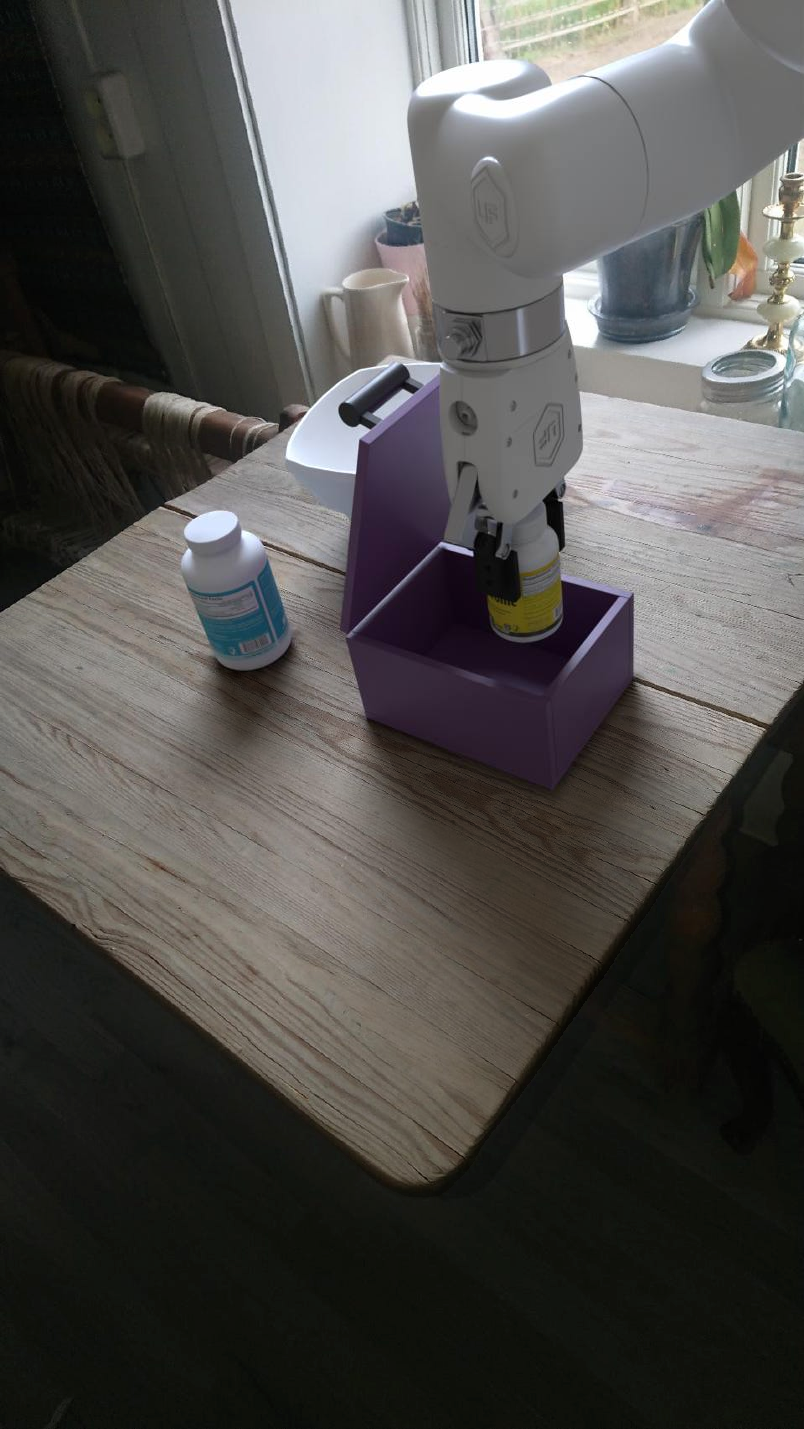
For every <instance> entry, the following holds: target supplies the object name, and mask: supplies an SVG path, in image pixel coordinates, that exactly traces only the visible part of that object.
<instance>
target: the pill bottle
mask: <svg viewBox="0 0 804 1429" xmlns="http://www.w3.org/2000/svg"><path fill="white" fill-rule="evenodd" d="M183 537H184V539H185V542H186V545H187V549H186V551H185V552H184V554H183V556H182V558H181V563H180V573H181V576H182V578H183V581H184V583H185V586H186V588H187V591H188V593H189V595H190V596H189V597H190V598H191V601H192V603H193V606H194V608H195V610H196V613H197V615H198V618H199V620H200V623H201V625H202V627H203V630H204V633H205V635H206V638H207V640H208V642H209V645H210V647H211V649H212V652H213V654H214V657H215V658H216V660H217V662H219V663H220V664H221V665H222V666H224V667H226V668H228V669H231V670H234V671H252V670H256V669H260V668H264V667H266V666H268V665H271V664H272V663H274V662H276V661H277V660H279V658H280V657H282V656H283V655H284V654H285V652H286V651H287V650H288V648H289V646H290V644H291V641H292V629H291V625H290V622H289V618H288V616H287V612H286V610H285V607H284V604H283V600H282V598H281V595H280V591H279V589H278V586H277V583H276V579H275V576H274V574H273V573H274V572H273V570H272V567H271V564H270V561H269V558H268V555H267V552H266V549H265V546H264V544H263V542H262V541H261V540H260V539H259V538H258V537H257V536H256V535H254V534H253V533H251V532H250V531H246V530H244V529H243V528H242V526H241V524H240V521H239V518H238V517H237V515H236V514H235V513H233V512H231V511H228V510H213V511H209V512H205V513H203V514H200V515H197V517H194V518H193V519H192V520H190V521H189V522H188V523H187V524H186V526H185V528H184V530H183Z"/></svg>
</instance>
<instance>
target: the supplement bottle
mask: <svg viewBox="0 0 804 1429" xmlns="http://www.w3.org/2000/svg"><path fill="white" fill-rule="evenodd" d="M486 519H487V521H486V523H487V529H488V532H487V533H488V534H490V535H492V536H495V537H496V530H497V521H495V520H492V519H488V518H486ZM511 550H514V551H517V554H518V564H519V575H520V586H521V598H520V599H519V600H518V601H517V602H515V603H514V602H510V601H506V600H503V599H500V598H496V597H493V596H489V595H487V601H488V609H489V617H490V622H491V626H492V628H493V630H494V631H495V632H496V633H497V634H498V635H499V636H501V637H502V638H504V639H507V640H509V641H513V642H520V643H526V642H533V641H538V640H541V639H543V638H546V637H548V636H549V635H551V634H552V633H554V632H555V631H556V630H557V629H558V627H559V626H560V624H561V622H562V619H563V602H562V588H561V558H560V552H559V544H558V538H557V535H556V533H555V531H554V530H553V529H552V528H551V527H550V526H549V525H547V517H546V507H545V504H544V503H543V501H541V502H540V503H539V504H538V505H537V506H536V507H535V508H534V509H533V510H532V511H531V512H530V513H529V514H528V515H527V516H526V517H525V518H523V519H522V520H521V521H519V522H517V523H516V524H513V530H512V541H511Z"/></svg>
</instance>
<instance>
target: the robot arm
mask: <svg viewBox="0 0 804 1429" xmlns="http://www.w3.org/2000/svg"><path fill="white" fill-rule="evenodd" d="M406 124H407V136H408V142H409V149H410V155H411V156H410V157H411V163H412V164H411V165H412V169H413V170H412V171H413V176H414V184H415V191H416V199H417V205H418V211H419V219H420V220H419V221H420V226H421V234H422V241H423V249H424V255H425V256H424V257H425V262H426V270H427V277H428V284H429V291H430V292H429V293H430V300H431V306H432V314H433V320H434V328H435V336H436V342H437V343H436V345H437V352H438V355H439V357H440V359H441V360H442V361H441V362H440V363H441V364H440V384H439V385H440V426H441V442H442V453H443V462H444V470H445V478H446V484H447V489H448V494H449V498H450V501H451V504H452V507H451V511H450V515H449V519H448V522H447V526H446V530H445V534H444V539H445V541H446V542H445V543H448V544H452V545H455V546H459V547H463V548H467V550H469V551H473V556H474V564H475V571H476V579H477V586H478V590H479V591H480V592H481V593H483V594H486V595H489V596H493V597H496V598H500V599H503V600H506V601H510V602H514V603H515V602H517V601H518V600H519V599H520V598H521V586H520V575H519V564H518V554H517V551H514V550H511V541H512V530H513V524H516V523H517V522H519V521H521V520H522V519H523V518H525V517H526V516H527V515H528V514H529V513H530V512H531V511H532V510H533V509H534V508H535V507H536V506H537V505H538V504H539V503H540V502H541V501H543V503H544V504H545V507H546V517H547V525H549V526H550V527H551V528H552V529H553V530H554V531H555V533H556V535H557V538H558V544H559V553H561V552H562V551H563V550H564V549H565V547H566V532H565V531H566V530H565V514H564V513H565V512H564V501H561V500H562V499H563V498H564V497H565V495H566V493H567V482H566V479H565V476H566V475H568V473H569V472H570V471H571V470H572V469H574V468H573V467H575V465H576V464H577V463H578V462H579V459H580V458H581V456H582V453H583V449H584V434H583V432H584V430H583V418H582V416H583V415H582V405H581V404H582V403H581V393H580V387H579V386H580V385H579V376H578V368H577V362H576V355H575V354H576V353H575V348H574V344H573V340H572V334H571V331H570V327H569V323H568V321H567V317H566V308H565V287H564V274H567V273H570V272H572V271H574V270H576V269H578V268H581V267H583V266H586V265H587V264H589V263H591V262H594V261H596V260H599V259H601V258H603V257H605V256H607V255H610V254H612V253H614V252H616V251H618V250H620V249H621V248H622V247H625V246H627V245H629V244H631V243H634V242H637V241H638V240H641V239H643V238H645V237H647V236H650V235H652V234H653V233H656V232H658V231H661V230H663V229H665V228H667V227H669V226H671V225H675V224H677V223H679V222H682V221H684V220H686V219H688V218H690V217H692V216H695V215H697V214H699V213H701V212H702V211H705V210H707V209H708V208H711V207H712V206H713V205H716V204H717V203H719V202H720V201H722V200H723V199H724V198H726V197H728V196H729V195H731V194H732V193H733V192H735V191H736V190H738V189H739V188H740V187H742V186H743V185H744V184H746V183H747V182H748V181H750V180H751V179H752V178H754V177H756V175H758V174H759V173H761V171H763V170H765V169H766V168H767V167H768V166H770V165H771V164H772V163H773V162H775V161H776V160H777V159H778V158H780V157H781V156H783V155H784V154H785V153H786V152H788V151H789V150H791V149H792V148H793V147H795V146H796V145H797V144H798V143H799V142H801V141H803V139H804V0H709V1H708V2H707V3H706V4H705V5H703V7H702V8H701V9H700V10H699V11H698V13H696V14H695V16H694V17H693V18H692V19H690V21H689V22H688V23H686V24H685V25H684V26H683V27H682V28H681V29H680V30H679V31H678V32H677V33H675V34H674V35H673V36H672V37H670V38H669V39H668V40H667V41H665V42H663V43H661V44H660V45H657V46H655V47H652V48H649V49H646V50H643V51H640V52H637V53H634V54H631V55H628V56H626V57H623V58H620V59H618V60H615V61H613V62H610V63H608V64H605V65H603V66H600V67H597V68H594V69H592V70H590V71H587V72H584V73H581V74H579V75H576V76H574V77H571V78H569V79H566V80H564V81H561V82H559V83H555V84H552V81H551V79H550V76H549V75H548V74H547V72H546V71H545V70H544V69H543V68H542V67H541V66H539V65H538V64H536V63H533V62H531V61H526V60H523V59H516V58H515V59H513V58H504V59H503V58H501V59H491V60H482V61H477V62H471V63H466V64H463V65H458V66H455V67H451V68H448V69H446V70H443V71H440V72H438V73H436V74H434V75H432V76H430V77H429V78H427V79H425V80H424V81H422V82H421V83H420V84H419V85H418V86H417V88H416V89H415V90H414V91H413V93H412V94H411V97H410V99H409V103H408V107H407V115H406ZM487 518H488V519H492V520H495V521H497V530H496V537H495V536H492V535H490V534H488V532H485V531H484V522H485V519H487Z"/></svg>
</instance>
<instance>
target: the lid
mask: <svg viewBox="0 0 804 1429" xmlns="http://www.w3.org/2000/svg"><path fill="white" fill-rule="evenodd" d="M403 364H404V363H401V362H399V361H393V362H392V363H391V364H388V365H389V366H388V367H387V368H385V369H384V370H383V371H382V372H380V373H379V374H378V375H377V376H375V377H374V378H373V379H371V380H370V381H369V382H368V383H366V384H365V385H364V386H362V387H361V388H360V389H359V390H357V391H356V392H355V393H354V394H352V395H351V396H350V397H348V398H347V399H346V400H345V401H343V402H342V403H341V404H340V405H339V408H338V412H339V416H340V418H341V420H342V421H343V422H344V423H345V424H346V425H348V426H349V427H357V426H358V425H359V424H361V425H363V426H365V427H366V428H368V429H370V431H369V432H367V433H366V434H365V435H364V436H363V437H361V438H360V439H359V447H358V457H357V466H356V476H355V486H354V496H353V506H352V515H351V520H350V525H349V535H348V546H347V556H346V566H345V575H344V584H343V595H342V604H341V605H342V606H341V614H340V625H339V631H340V632H342V633H343V634H345V635H346V636H347V635H348V634H349V633H350V632H351V631H352V630H353V629H354V628H355V627H356V626H357V625H358V624H359V623H360V622H361V621H362V620H363V619H364V618H365V617H366V616H367V615H368V614H369V613H370V612H371V611H372V610H373V609H374V608H375V607H376V606H377V605H378V604H379V603H380V602H381V601H382V600H383V599H384V598H385V597H386V596H387V595H388V594H389V593H390V592H391V591H392V590H393V589H394V588H395V587H396V586H397V585H398V584H399V583H400V582H401V581H402V580H403V579H404V578H405V577H406V576H407V575H408V574H409V573H410V572H411V571H412V570H413V569H414V568H415V567H416V566H417V565H419V564H420V563H421V562H422V561H423V560H424V559H425V558H426V557H427V556H428V555H429V554H430V553H431V552H432V551H433V550H434V549H435V548H436V547H437V546H438V545H439V544H440V543H441V542H442V541H443V540H444V534H445V530H446V526H447V522H448V518H449V513H450V509H451V501H450V498H449V494H448V489H447V484H446V478H445V470H444V462H443V453H442V442H441V426H440V385H439V384H440V373H439V374H437V375H436V376H435V377H434V378H433V379H431V380H430V381H429V382H428V383H427V384H425V385H424V384H422V383H420V382H418V381H416V380H414V379H413V378H411V377H410V373H409V371H408V369H407V368H406V367H405V366H404V365H403ZM402 389H404V390H406V391H408V392H409V393H411V394H413V395H412V396H411V397H410V398H408V399H407V400H406V401H405V402H404V403H402V404H401V405H400V406H399V407H398V408H396V409H395V410H394V411H393V412H392V413H390V414H389V415H388V416H387V417H386V418H384V419H383V420H382V419H381V418H379V417H377V416H375V415H373V413H374V412H375V411H377V410H378V409H379V408H380V407H382V406H383V405H384V404H385V403H386V402H388V401H389V400H390V399H391V398H393V397H394V396H395V395H396V394H397V393H399V392H400V391H401V390H402Z"/></svg>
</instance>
